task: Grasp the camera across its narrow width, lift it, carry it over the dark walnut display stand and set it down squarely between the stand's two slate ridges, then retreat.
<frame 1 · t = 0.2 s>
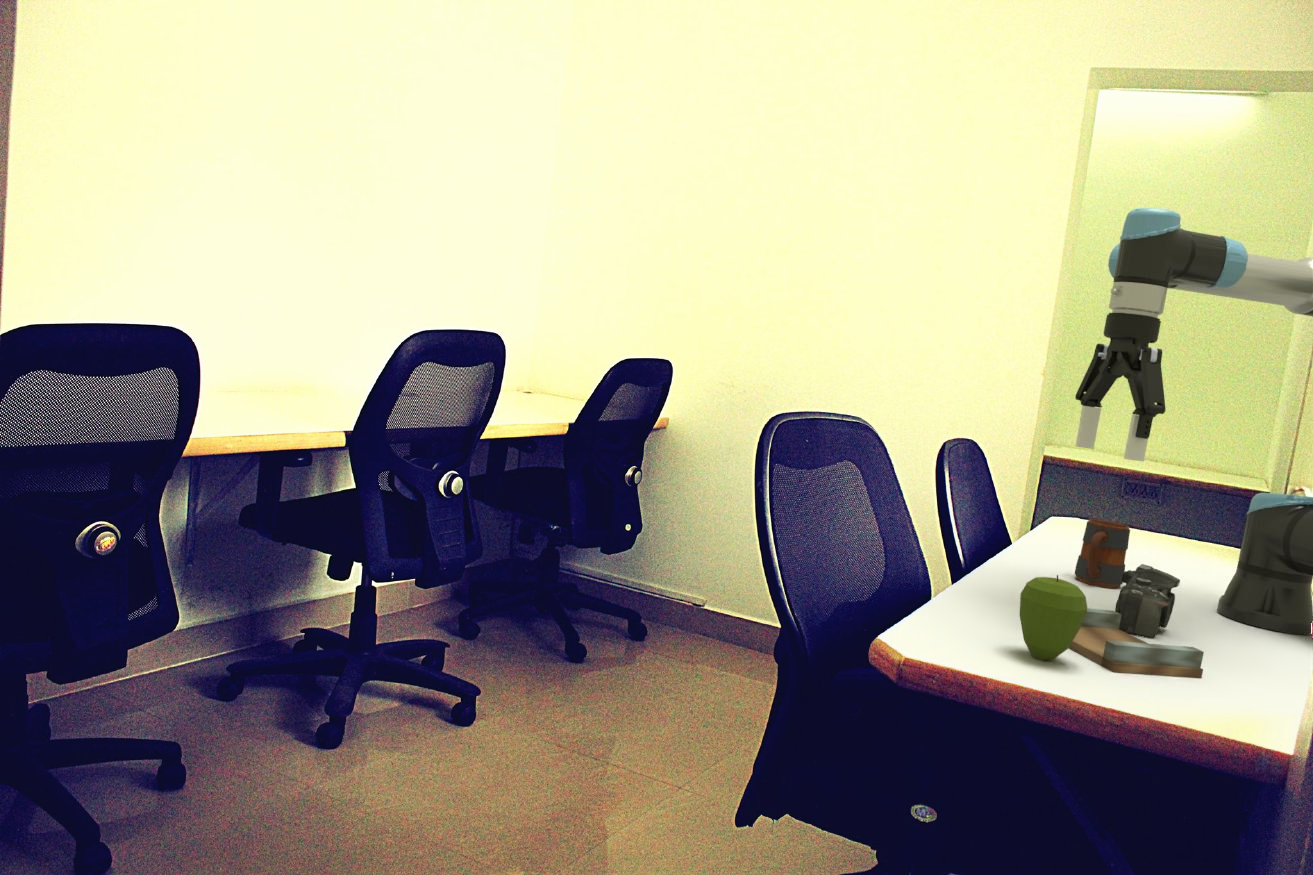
hand: (1107, 453, 161), 27 cm above the table, fingers open, 13 cm apart
camera: (1138, 629, 169), on the table
mug: (1094, 584, 201), on the table
apple: (1042, 659, 142), on the table
stand: (1109, 650, 151), on the table
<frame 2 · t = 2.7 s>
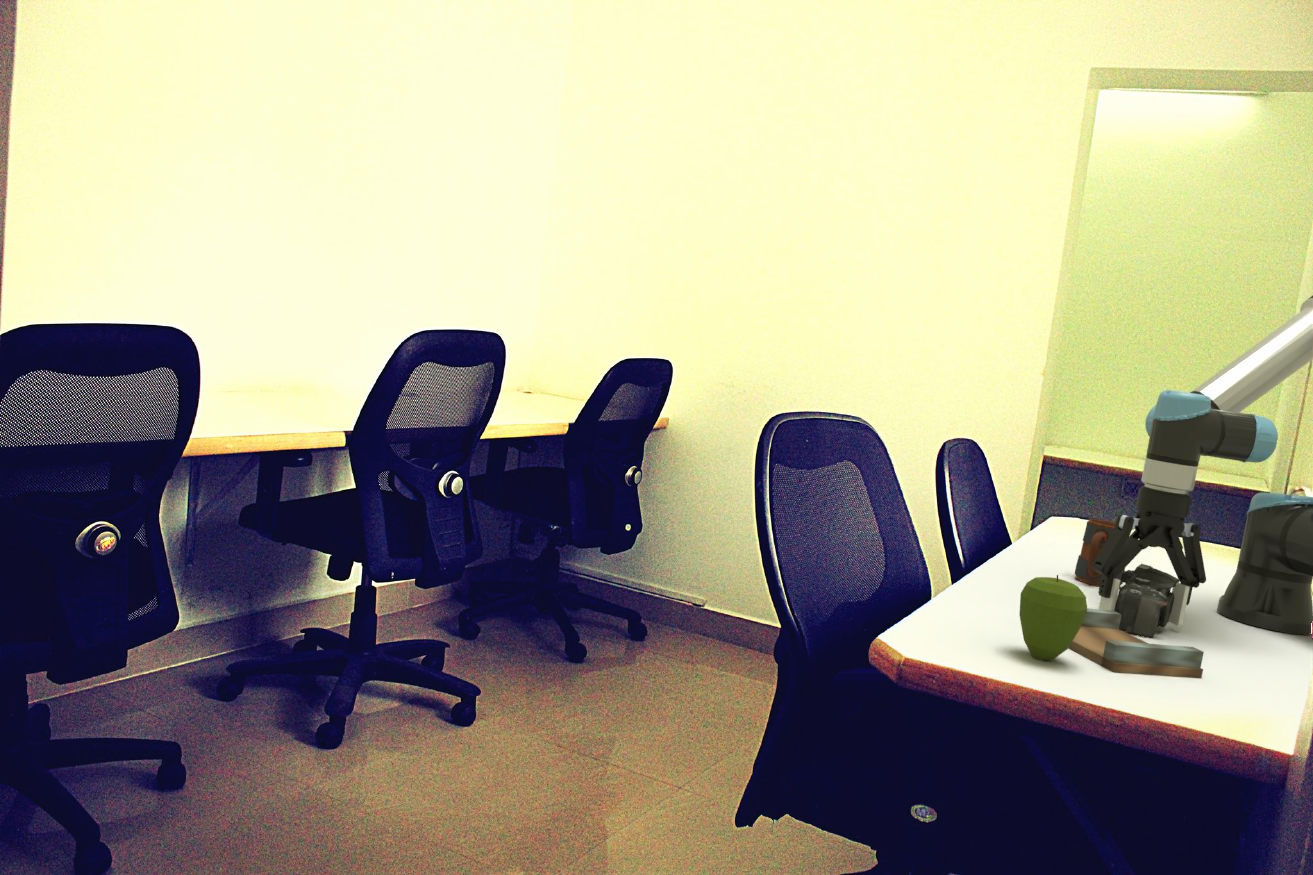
hand: (1139, 620, 169), 1 cm above the table, fingers open, 12 cm apart
camera: (1137, 629, 169), on the table, touching gripper
everything else where it was.
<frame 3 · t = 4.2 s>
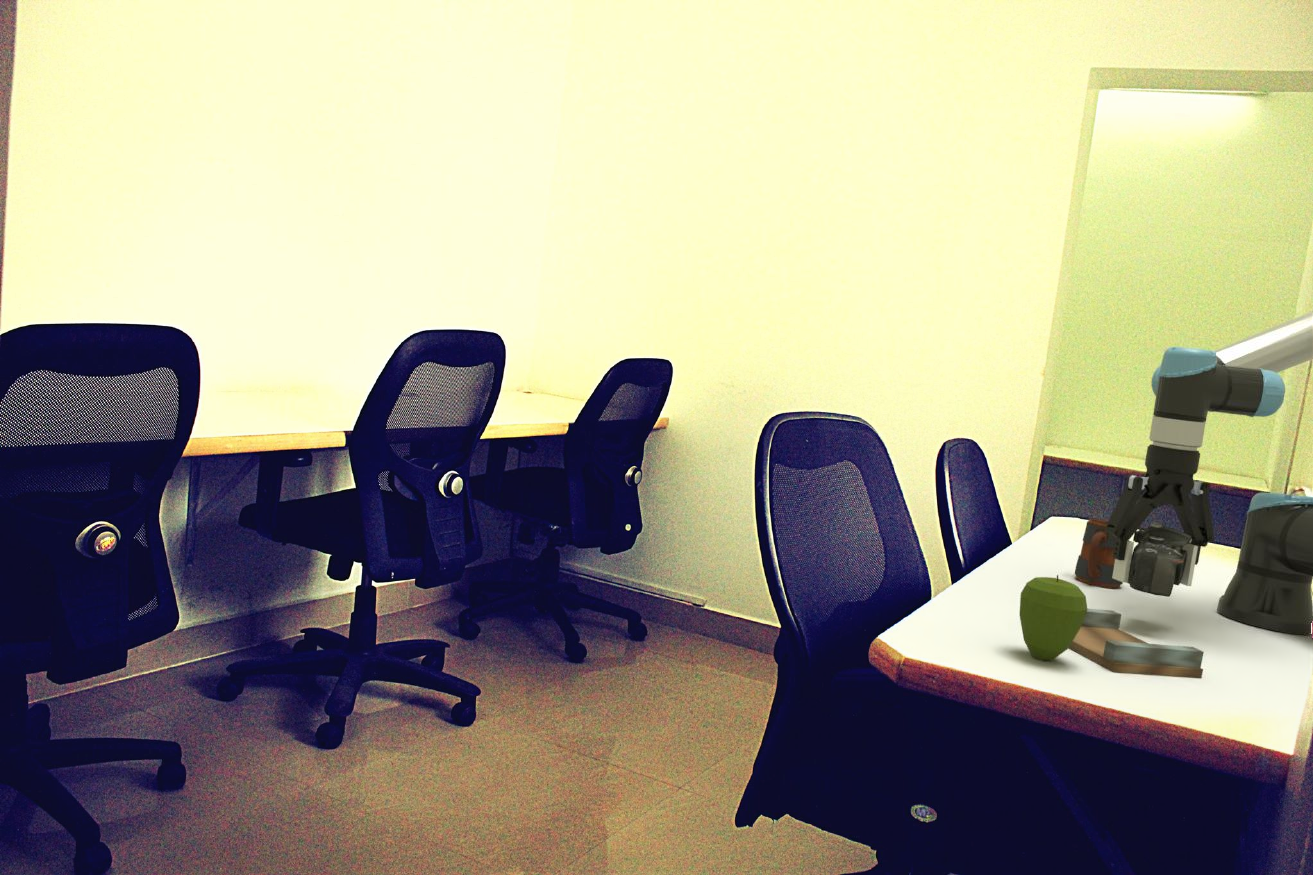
hand: (1151, 582, 168), 8 cm above the table, fingers closed on camera, 11 cm apart
camera: (1151, 588, 168), point 7 cm above the table, touching gripper
everything else where it was.
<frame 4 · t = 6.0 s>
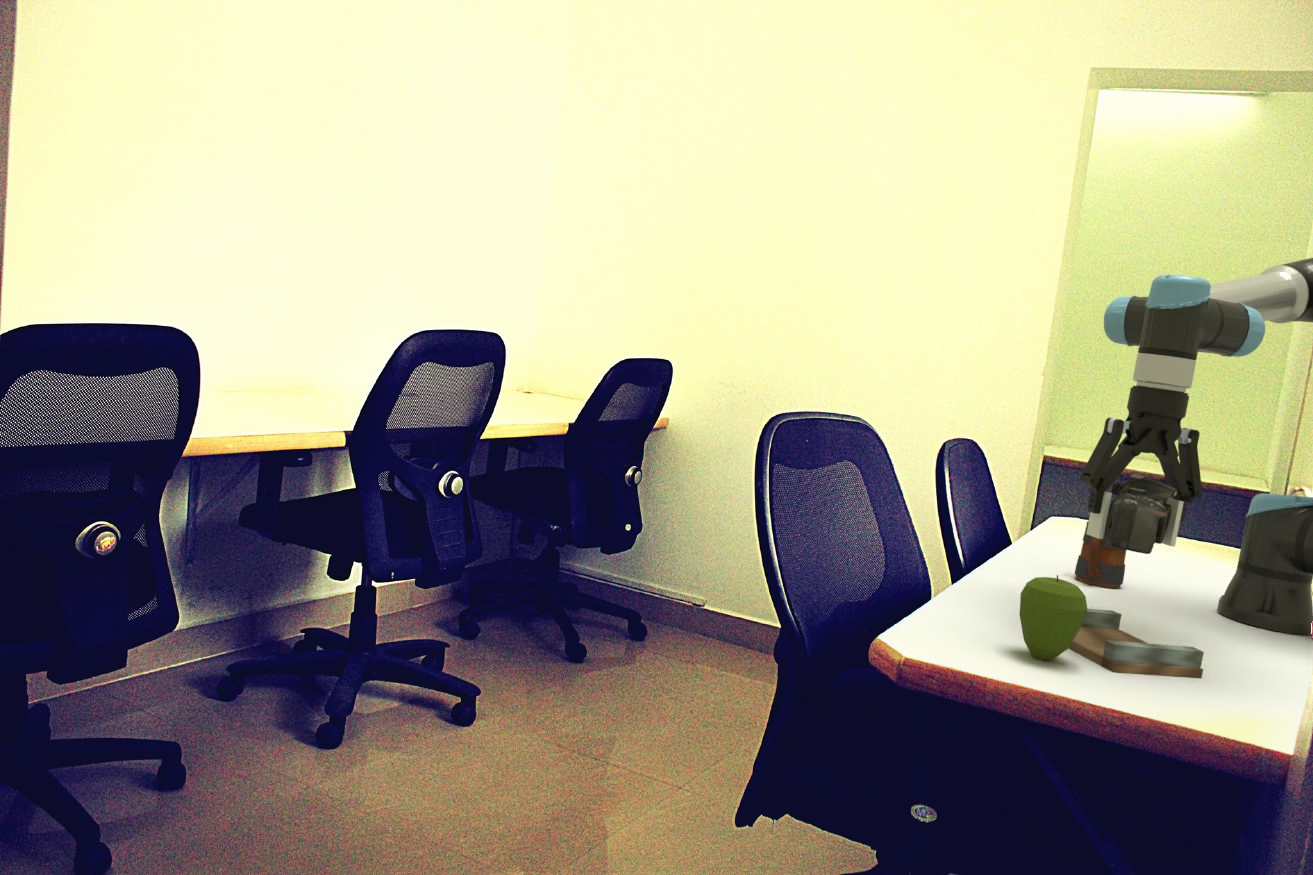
hand: (1130, 540, 150), 16 cm above the table, fingers closed on camera, 11 cm apart
camera: (1130, 546, 150), point 15 cm above the table, touching gripper
everything else where it was.
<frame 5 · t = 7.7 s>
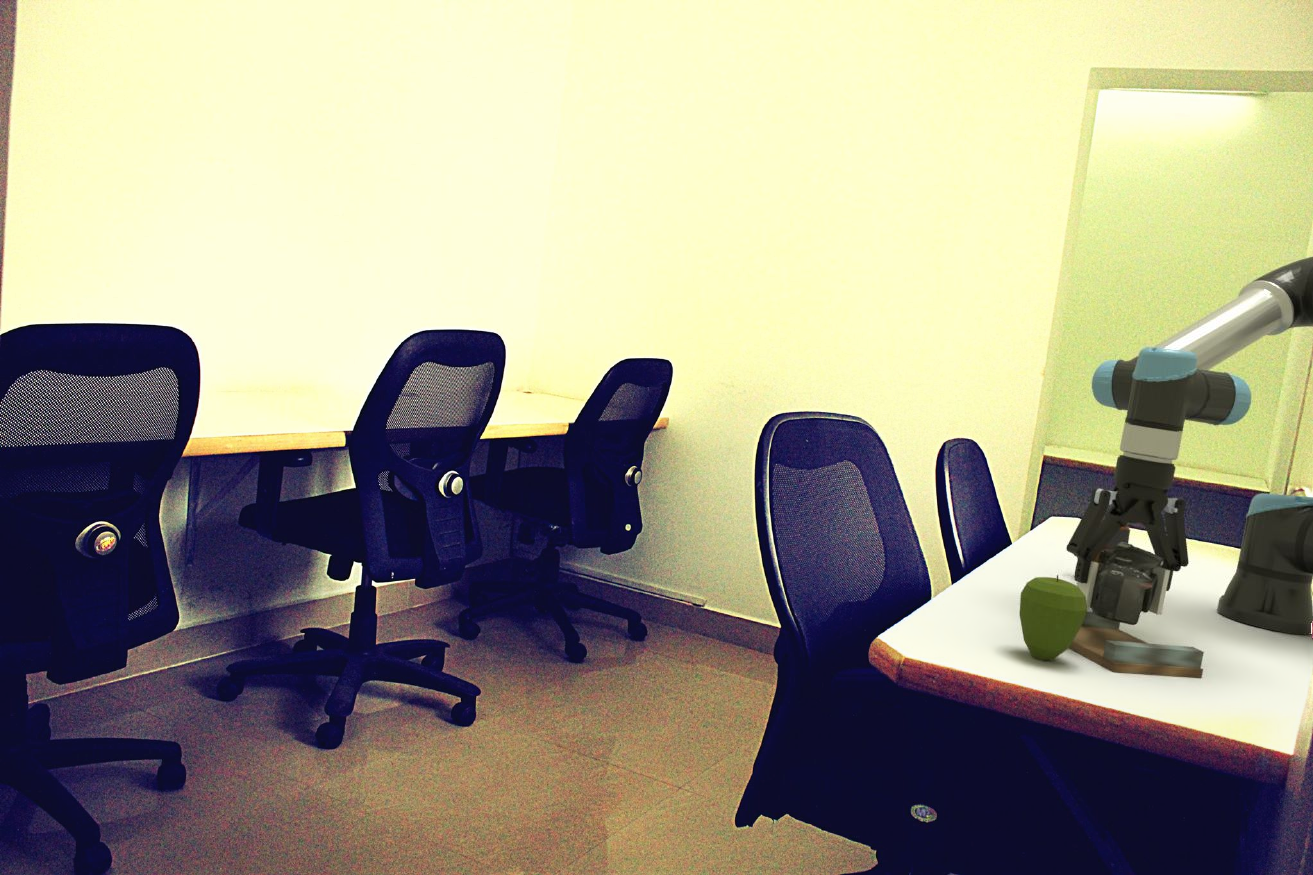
hand: (1117, 608, 151), 6 cm above the table, fingers closed on camera, 11 cm apart
camera: (1117, 614, 151), point 5 cm above the table, touching gripper
everything else where it was.
when the fingers open (3 cm above the table, at t = 8.9 s): camera drops 2 cm, resting on stand.
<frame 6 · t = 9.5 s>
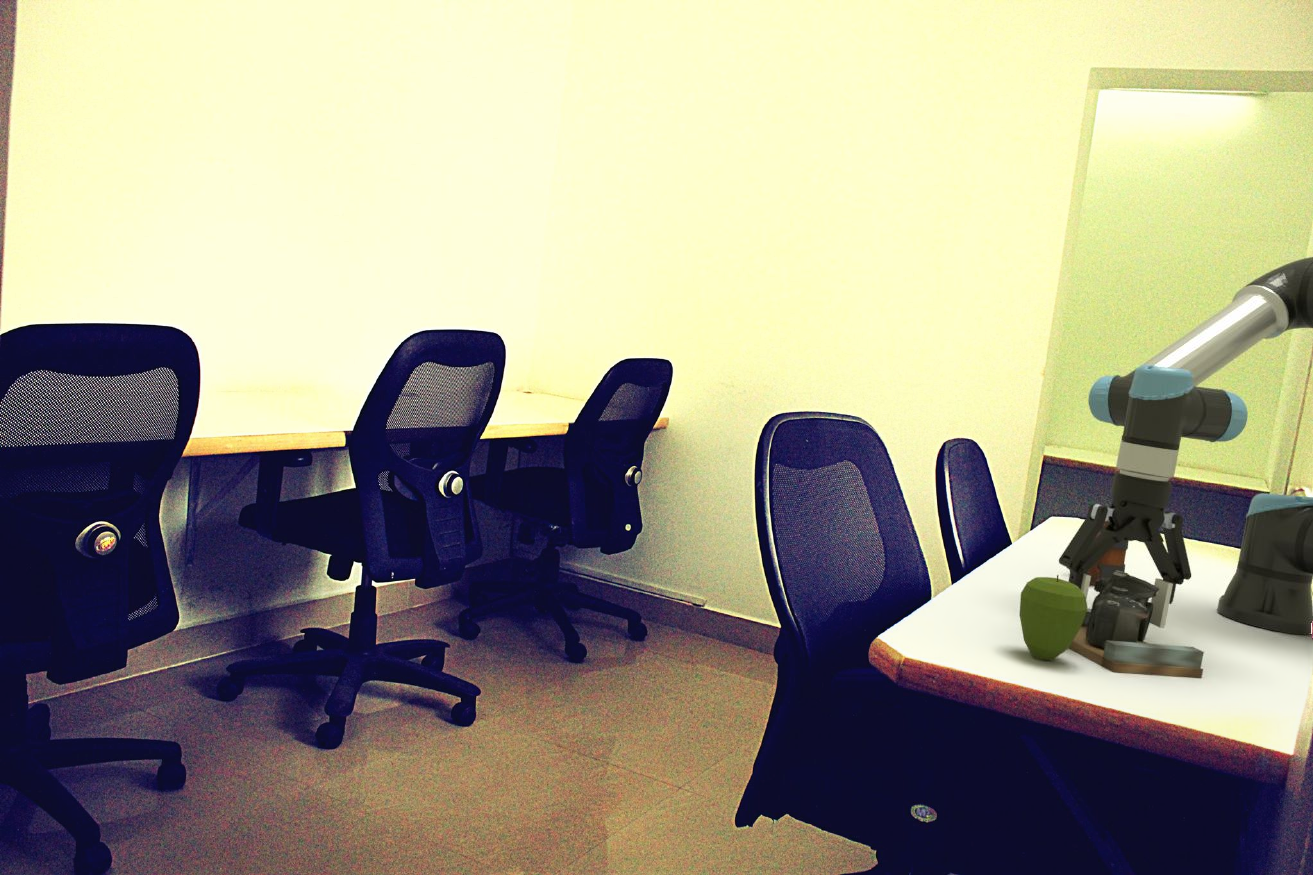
hand: (1115, 621, 151), 4 cm above the table, fingers open, 13 cm apart
camera: (1112, 643, 151), point 1 cm above the table, touching stand
everything else where it was.
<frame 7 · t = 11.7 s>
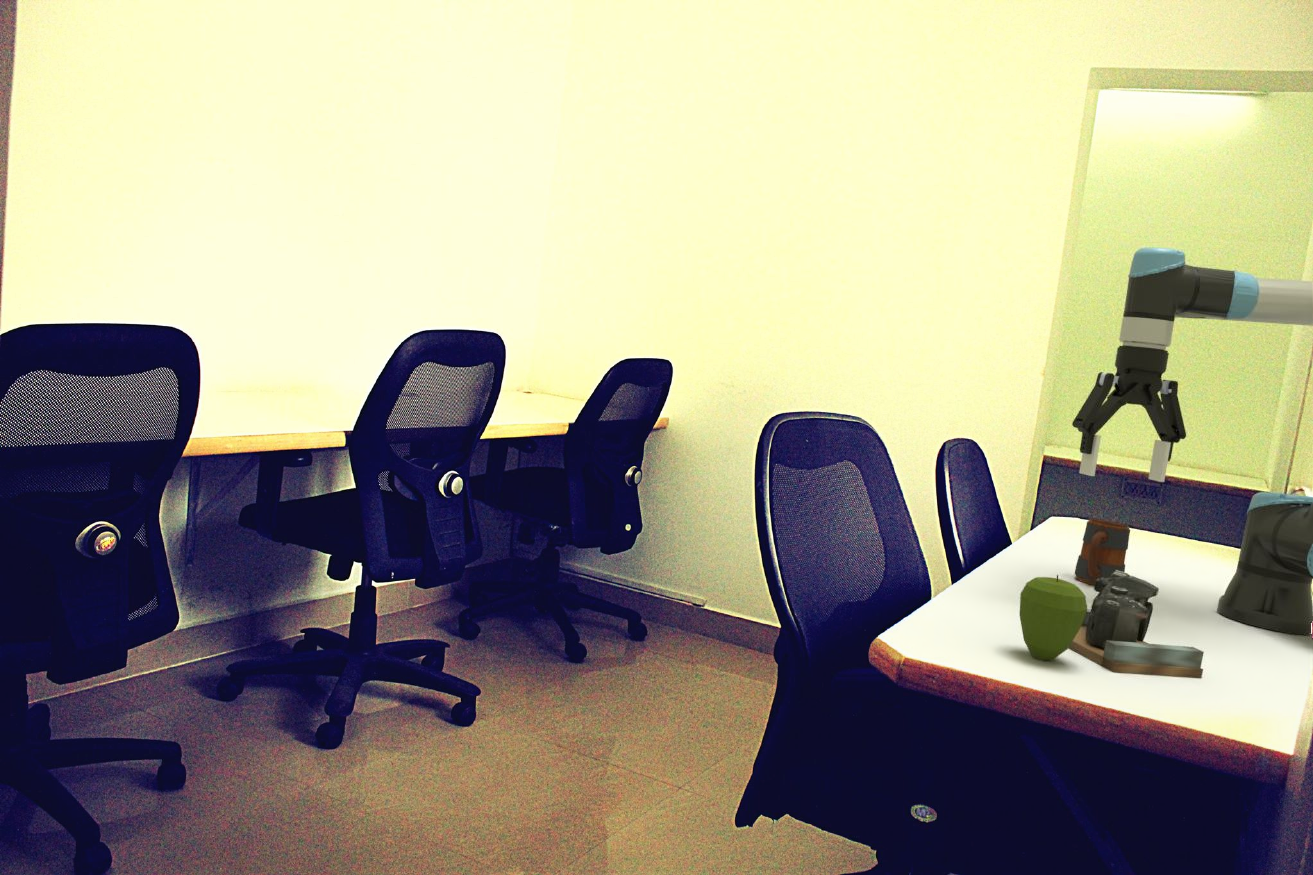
hand: (1121, 477, 171), 23 cm above the table, fingers open, 13 cm apart
nothing on the table moved.
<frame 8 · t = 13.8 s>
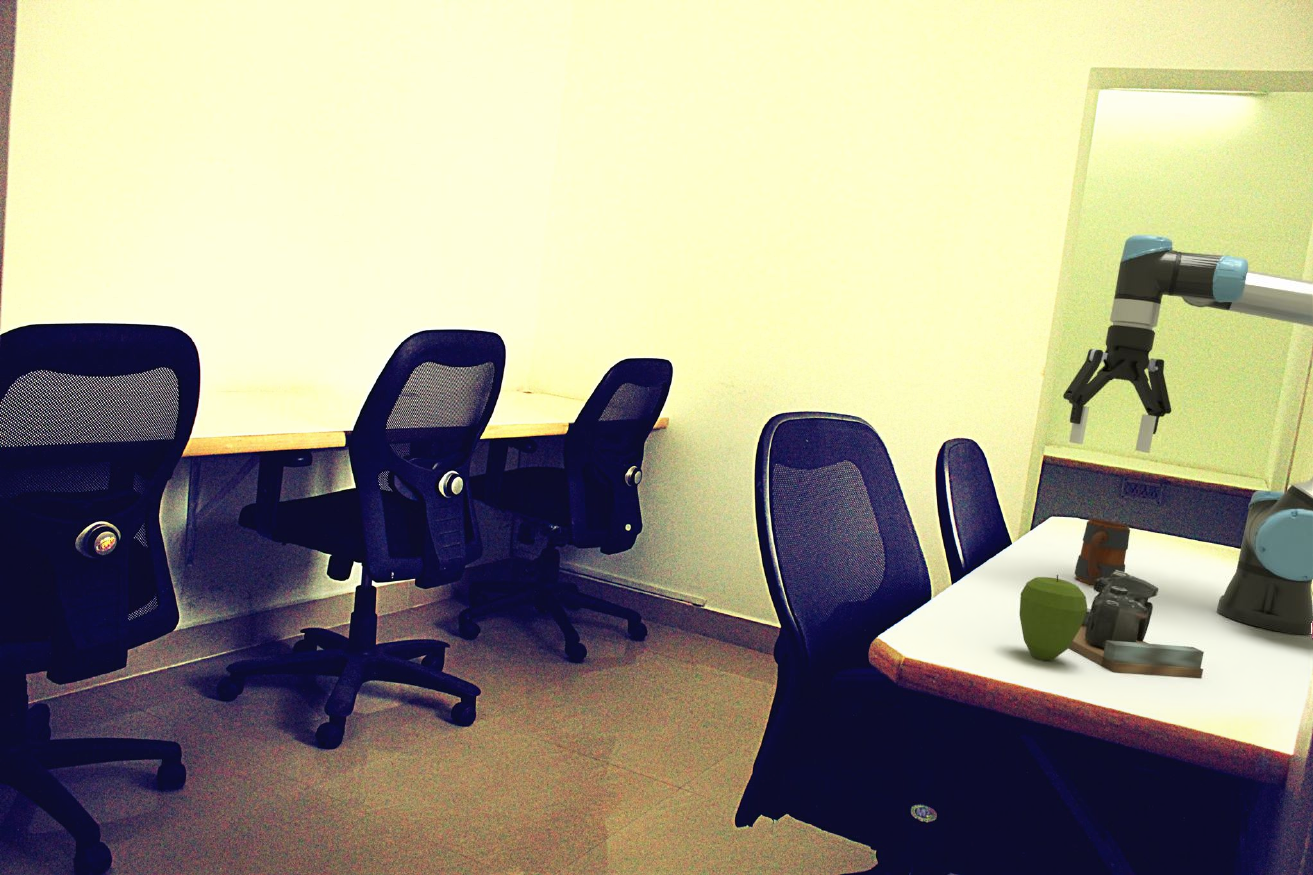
hand: (1109, 447, 185), 27 cm above the table, fingers open, 13 cm apart
nothing on the table moved.
at the end: camera inside the target area on the stand (0.4 cm from its centre), point 1.0 cm above the stand's base; camera tilted 0°; the gripper is holding nothing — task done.
